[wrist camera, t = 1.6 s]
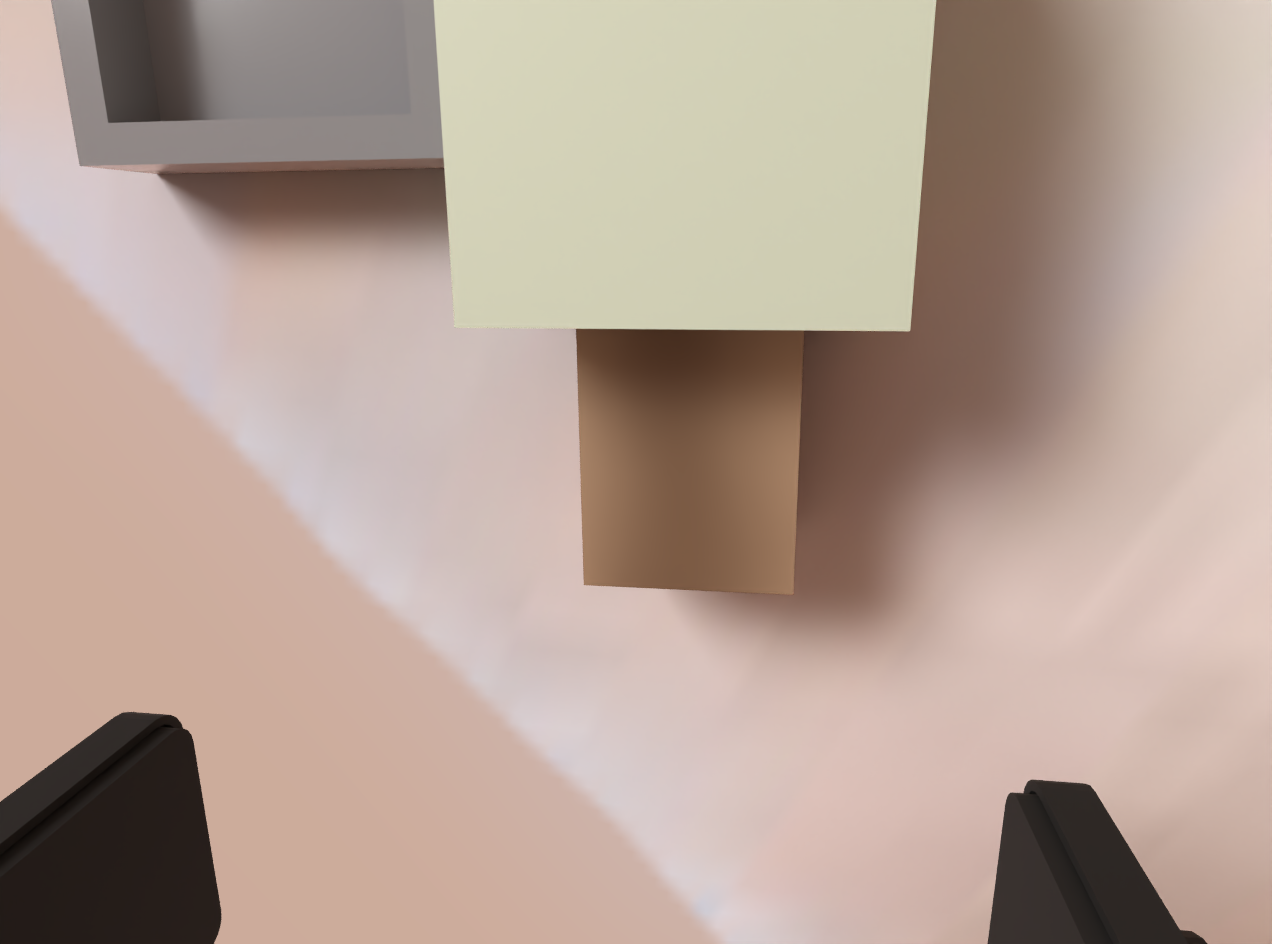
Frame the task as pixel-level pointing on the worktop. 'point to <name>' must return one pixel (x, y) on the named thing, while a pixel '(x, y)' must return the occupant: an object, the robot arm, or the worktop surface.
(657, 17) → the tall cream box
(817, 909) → the worktop surface
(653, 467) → the block
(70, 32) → the tray
